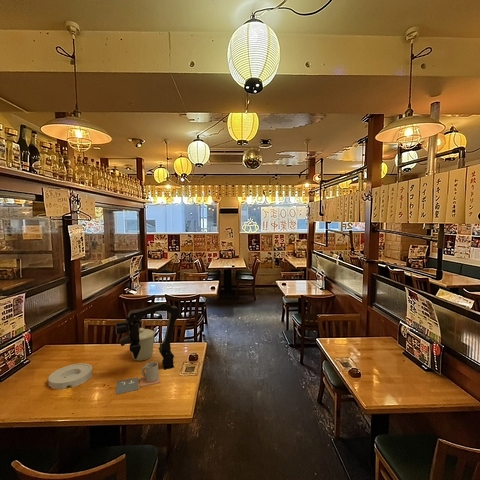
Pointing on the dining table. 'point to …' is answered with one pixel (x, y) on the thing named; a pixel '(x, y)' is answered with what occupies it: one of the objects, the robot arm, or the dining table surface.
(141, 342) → the canister
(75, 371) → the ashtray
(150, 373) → the cup
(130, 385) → the tile
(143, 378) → the coaster pad
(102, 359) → the dining table surface
